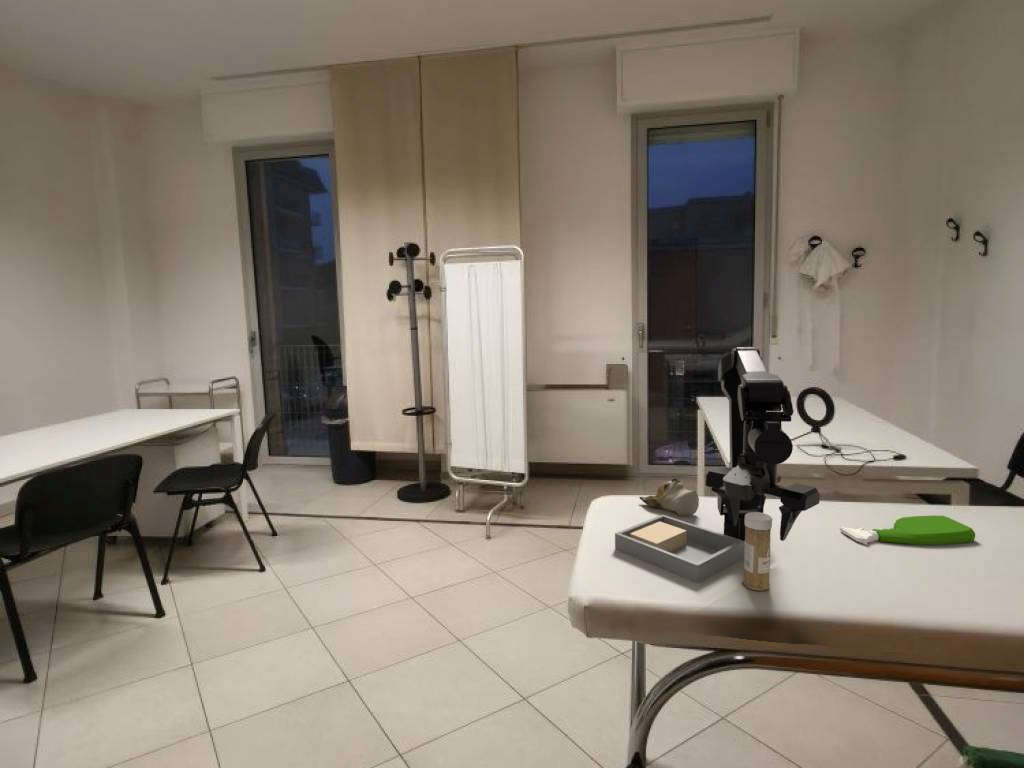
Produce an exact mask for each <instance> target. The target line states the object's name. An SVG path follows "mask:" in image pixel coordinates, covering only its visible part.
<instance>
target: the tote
mask: <svg viewBox="0 0 1024 768" xmlns="http://www.w3.org/2000/svg"><path fill="white" fill-rule="evenodd" d="M657 522H663V523H666V524H669V525H672V526H675V527H678V528H681V529H684V530H686V531H687V543H686V544H685V545H683V546H681V547H679V548H677V549H675V550H672V551H670V552H667V551H665V550H662V549H659V548H657V547H654V546H652V545H649V544H646V543H644V542H641V541H639V540H636V539H633V538H631V537H630V533H633V532H635V531H637V530H640V529H642V528H645V527H647V526H650V525H652V524H655V523H657ZM614 549H615V550H617V551H619V552H621V553H623V554H626V555H628V556H631V557H632V558H633V557H634V558H635V559H638V560H640V561H643V562H645V563H648V564H650V565H652V566H655V567H657V568H660V569H662V570H665V571H667V572H670V573H673V574H674V575H677V576H678V577H679V576H680V577H681V578H684V579H687V580H689V581H691V582H694V583H696V584H699V583H701V582H702V581H704V580H706V579H707V578H709V577H711V576H713V575H715V574H717V573H719V572H720V571H723V570H724V569H726V568H728V567H730V566H731V565H733V564H735V563H737V562H739V561H741V560H742V559H744V550H745V541H742V540H739V539H736V538H733V537H730V536H727V535H724V533H721V532H718V531H715V530H712V529H708V528H705V527H702V526H700V525H696V524H693V523H690V522H687V521H683V520H681V519H678V518H675V517H672V516H669V515H666V514H661V515H658V516H655V517H653V518H651V519H648V520H645V521H642V522H640V523H638V524H635V525H633V526H630V527H628V528H625V529H623V530H620V531H618V532H615V533H614Z"/></svg>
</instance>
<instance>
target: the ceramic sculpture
mask: <svg viewBox="0 0 1024 768" xmlns="http://www.w3.org/2000/svg"><path fill="white" fill-rule="evenodd" d="M639 499H640V501H642V503H645V504H646V505H647V506H649V507H651V508H661V509H663V510H666V511H671V512H676V514H677V515H678V516H679V517H690V516H693V515H694V514H696V513H697V511H698V509H699V505H700V498H699V495H698V492H697V491H696V490H689V489H687V488H686V487H685V484H684V483H683V481H681V480H680V479H677V478H672V480H669V481H664V482H662V483H661V484H659V486H658V487H657V489H656V494H655V495H648V496H639Z"/></svg>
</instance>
